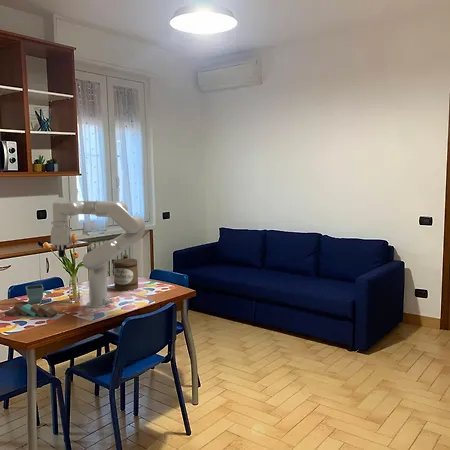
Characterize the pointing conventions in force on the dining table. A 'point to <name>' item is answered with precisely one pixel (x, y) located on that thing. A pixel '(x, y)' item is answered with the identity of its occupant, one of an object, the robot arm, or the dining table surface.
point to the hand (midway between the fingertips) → (61, 256)
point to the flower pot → (35, 293)
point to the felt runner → (42, 317)
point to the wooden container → (125, 274)
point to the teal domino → (28, 309)
